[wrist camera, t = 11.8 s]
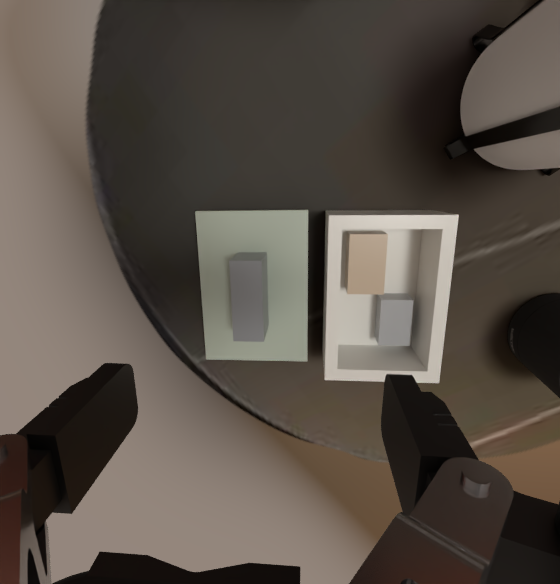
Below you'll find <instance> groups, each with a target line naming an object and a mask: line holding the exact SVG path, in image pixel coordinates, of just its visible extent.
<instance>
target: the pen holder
mask: <svg viewBox="0 0 560 584" xmlns="http://www.w3.org/2000/svg"><path fill="white" fill-rule="evenodd" d="M508 343H509V346H510V349H511V350H512V352H513V354H514V355H515V356H516V357H517V358H518V359H519V360H520V361H521V362H522V363H523V364H524V365H525V366H526V367H527V368H528V369H529V370H530V371H531V372H532V373H533V374H534V375H535V376H536V377H537V378H539V379H540V380H541V381H542V382H543V383H544V384H545V385H546V386H547V387H548V388H549V389H550V390H552V391H553V392H554V393H555V394H556V395H557V396H558V397H559V398H560V294H547V295H543V296H539V297H537V298H535V299H533V300H531V301H529V302H528V303H526V304H525V305H523V306H522V307H521V308H520V309H519V310H518V311H517V312H516V314H515V315H514V317H513V319H512V320H511V323H510V325H509V329H508Z"/></svg>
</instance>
